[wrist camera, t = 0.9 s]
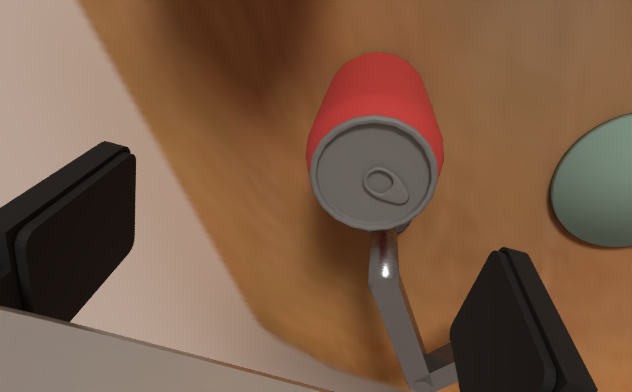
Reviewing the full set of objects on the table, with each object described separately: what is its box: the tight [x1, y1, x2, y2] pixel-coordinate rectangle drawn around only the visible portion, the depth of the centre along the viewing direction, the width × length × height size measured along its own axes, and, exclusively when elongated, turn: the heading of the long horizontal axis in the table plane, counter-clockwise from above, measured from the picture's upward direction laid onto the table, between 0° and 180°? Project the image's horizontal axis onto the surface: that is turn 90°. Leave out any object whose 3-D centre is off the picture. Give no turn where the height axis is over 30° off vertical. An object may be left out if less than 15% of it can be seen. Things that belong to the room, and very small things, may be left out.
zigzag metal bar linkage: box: [365, 220, 458, 392], centre depth 31 cm, size 17×13×9 cm
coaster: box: [550, 113, 632, 247], centre depth 29 cm, size 10×10×1 cm
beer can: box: [306, 52, 444, 231], centre depth 24 cm, size 7×7×12 cm
